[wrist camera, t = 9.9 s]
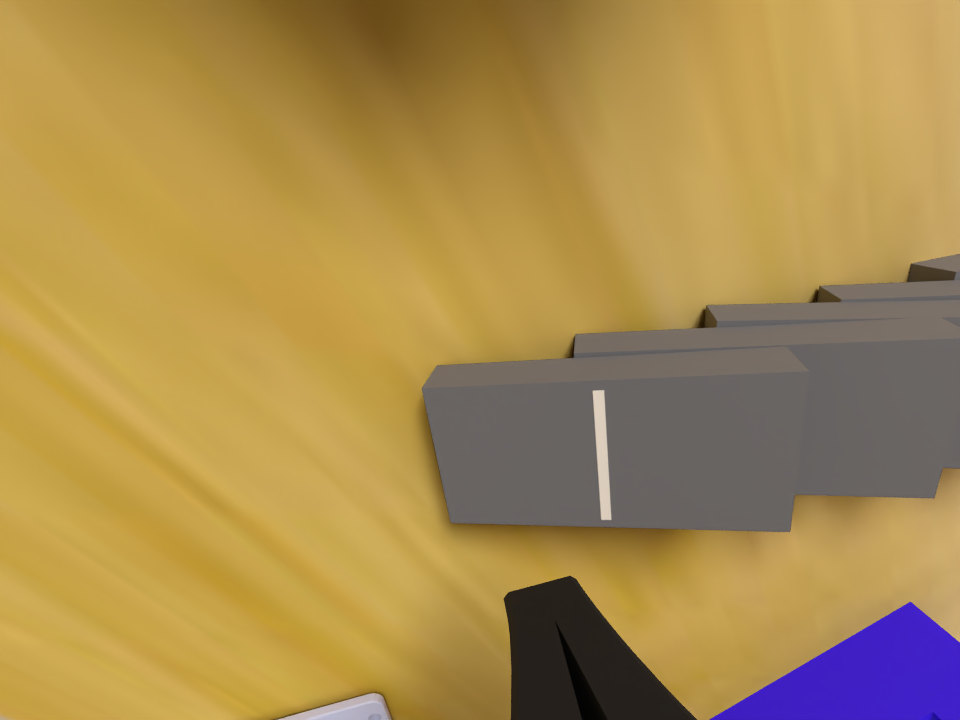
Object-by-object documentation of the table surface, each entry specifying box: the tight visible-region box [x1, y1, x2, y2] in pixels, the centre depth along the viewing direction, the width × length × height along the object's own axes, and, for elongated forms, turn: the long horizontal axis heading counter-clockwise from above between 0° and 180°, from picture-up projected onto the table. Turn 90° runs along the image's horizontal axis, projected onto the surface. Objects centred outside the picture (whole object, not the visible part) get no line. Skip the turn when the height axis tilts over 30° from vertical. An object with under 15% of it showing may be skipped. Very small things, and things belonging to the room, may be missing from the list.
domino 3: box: [704, 300, 960, 468], centre depth 16 cm, size 5×2×10 cm
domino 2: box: [574, 317, 960, 498], centre depth 15 cm, size 5×2×10 cm
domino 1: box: [422, 346, 810, 532], centre depth 15 cm, size 5×2×10 cm
